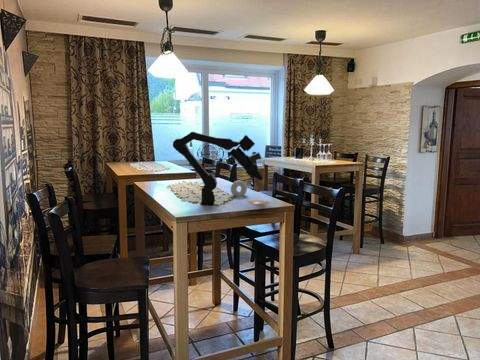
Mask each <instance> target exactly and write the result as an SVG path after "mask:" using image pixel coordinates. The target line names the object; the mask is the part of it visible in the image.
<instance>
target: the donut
mask: <svg viewBox="0 0 480 360" xmlns="http://www.w3.org/2000/svg"><path fill="white" fill-rule="evenodd" d="M238 187H240V190H239V191H238V190H237V188H238ZM247 190H248V186H247V184H246V183H245V181H243V180H235V181H233V182H232V184H231V186H230V192H231V194H232V196H233V197H243V196H245V195H246V193H247Z"/></svg>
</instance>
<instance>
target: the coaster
mask: <svg viewBox="0 0 480 360" xmlns="http://www.w3.org/2000/svg"><path fill="white" fill-rule="evenodd" d="M247 204H249V205H255V206H256V205H257V206H260V205H261V206H262V205H264V206H265V205H269V204H271V202H270V201H269V200H265V199H262V200H261V199H253V200H252V199H251V200H248V201H247Z"/></svg>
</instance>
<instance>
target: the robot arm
mask: <svg viewBox="0 0 480 360" xmlns="http://www.w3.org/2000/svg"><path fill="white" fill-rule="evenodd" d="M192 141H199V142H202V143H207V144H211V145H214V146H217V147H219V148H222V149H224V150H225V151H227V158H231V157H232V158H233V159H234V160H235V161H236V162H237V163H238V165H240V166H241V167H242V168H243V169H244V170H245V173H246V174H247V176H250V177H253V178H254V177H255V178H257V179H259V180H263V178H262V177H261V175H260V174H259V172H258V167H259V166H258V165H257V164H256V162H255V161H258V160H261V159H262V156H261V153H260V152H257V151H253V152H252V153H251V155H248V154H246V153H245V152H249V151H250V150H251V149H252V148H253V147H254V146H255V145H256V143H255V142H254V141H253V139H251V138H250V137H249V136H248V135H247V134H245V135H244V136H243V138H241V139H240V140H239V141H235V140H233V139H232V138H228V137H227V138H226V137H225V138H224V137H216V136H211V135H208V134H205V133H199V132H196V131H190V133H188V134H186V135H184V136H183V137H181V138H179V137H178V138H176V139H174V140H173V141H172V147H173V148H174V149H175V150H176V152H178V153H179V154H181V155H182V156H183V157H184V158H185V160H186V161H188V163H189V165H190V166H191V167H192V168H193V169H194V170H195V172H196V173H197V174H198V176H200V178H201V181H202V183H203V185H202V188H201V190H200V191H201V202H200V204H201V206H202V205H208V206H209V205H214V204H215V203H216V202H215V201H216V200H215V199H216V198H215V197H216V196H215V194H214V191H213V190H215V189H216V188H217V186H218V185H217V184H218V182H217V181H218V180H217V177H216V176H214V174H213V172H211V173H208V172H207V170H206V169H205V168H204V167H203V165H202V164H201V163H200V162H199V161H198V159H197V158H196V157H195V156H194V154H193V153H191V151H190V149H189V146H188V145H187V144H189V143H190V142H192ZM235 147H236V148H235Z"/></svg>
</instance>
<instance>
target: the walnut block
mask: <svg viewBox="0 0 480 360" xmlns="http://www.w3.org/2000/svg"><path fill="white" fill-rule="evenodd" d="M257 167H258V172H259V174H260V175H261V177H262V178H263V180H259V179H257V178H255V177H253V191H254V192H265V172H266V170H265V167H264V166H263V167H262V166H257Z"/></svg>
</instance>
